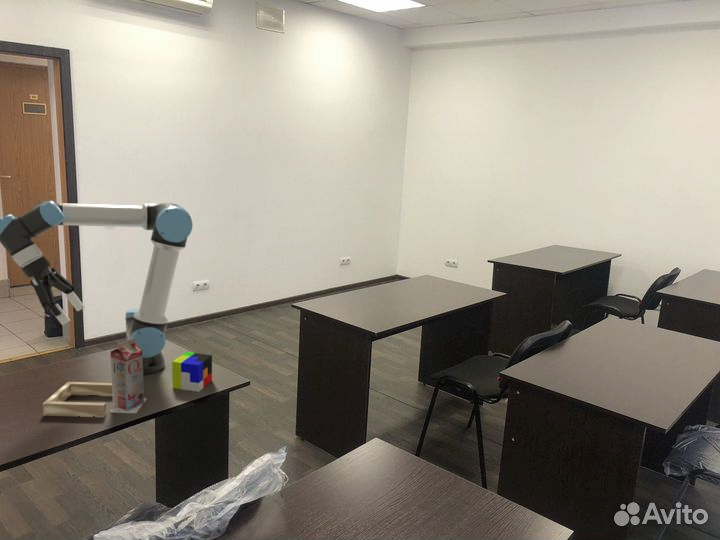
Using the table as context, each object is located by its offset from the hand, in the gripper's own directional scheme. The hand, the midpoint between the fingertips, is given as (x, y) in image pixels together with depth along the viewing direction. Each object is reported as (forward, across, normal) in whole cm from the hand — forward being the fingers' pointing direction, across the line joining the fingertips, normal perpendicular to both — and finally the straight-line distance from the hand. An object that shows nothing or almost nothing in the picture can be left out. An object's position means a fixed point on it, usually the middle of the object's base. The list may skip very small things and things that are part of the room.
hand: (74, 315), depth 176 cm
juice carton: (+33, +10, +1) cm, 34 cm away
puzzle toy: (+43, -6, +16) cm, 46 cm away
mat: (+33, +10, +1) cm, 34 cm away
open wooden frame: (+26, +8, -11) cm, 29 cm away
